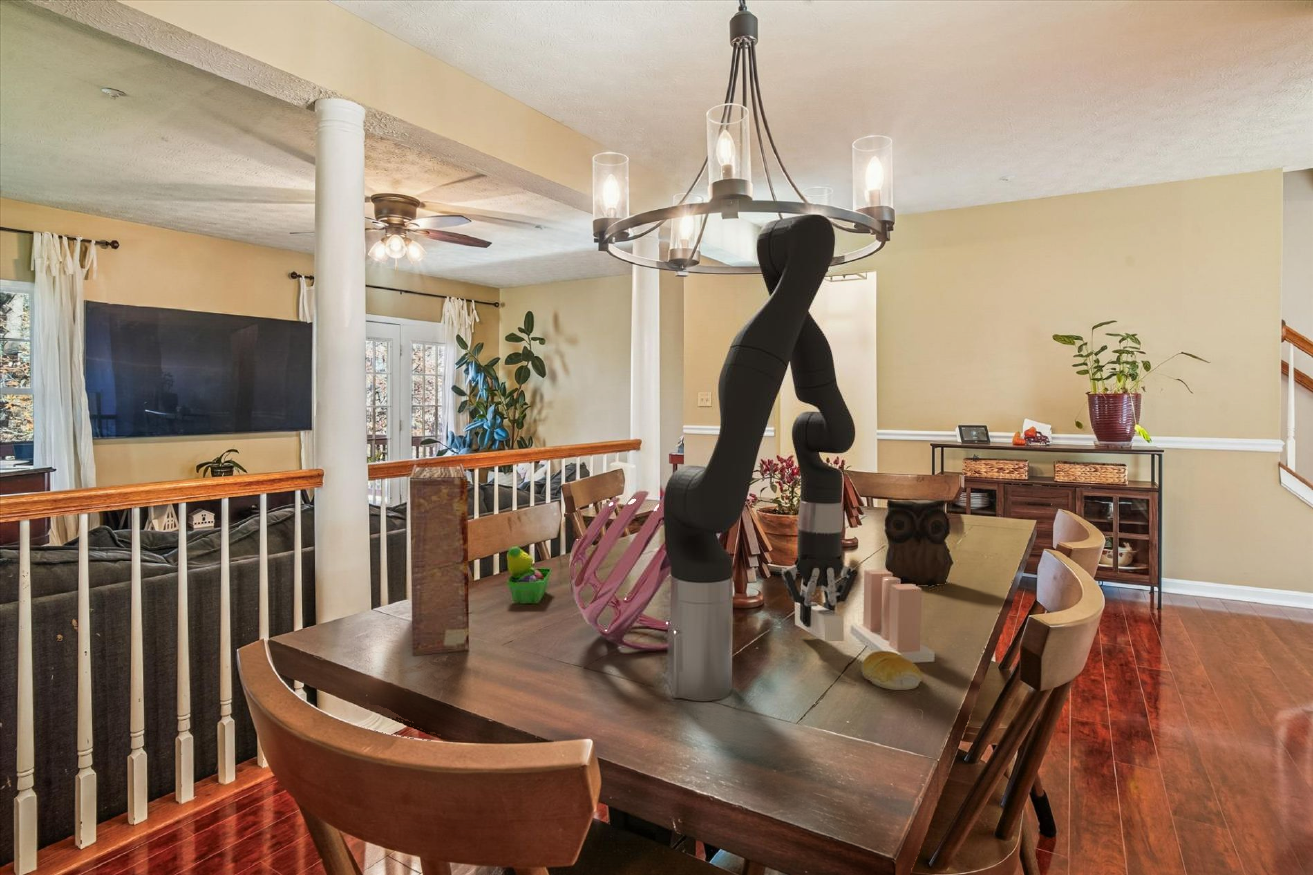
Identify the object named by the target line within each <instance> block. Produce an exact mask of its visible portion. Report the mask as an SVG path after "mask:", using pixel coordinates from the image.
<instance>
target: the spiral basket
mask: <svg viewBox="0 0 1313 875" xmlns="http://www.w3.org/2000/svg"><path fill="white" fill-rule="evenodd" d="M649 494H650V492H649V491H647V490H639V491H636V492H634V493H633V494H632V496H631V497H630V498H629V499H628V501H627V502H626V503H625V505H624V506H623V507H622V509H621V510H620V511H619V512H618V514H617V516H616V517H615V518H614V520H613V521H612V523H610V525H609V527H608V528H607V530H606V531H605V532H604V534H603V535H602V536H601V538H600V540H599V541H598V543H596V545H595V547H594V548H593V549H592V551H591V553H590V554H589V556H588V557H587V551H588V549H589V547H590V546H591V544H593V542H594V541H595V539H596V538H597V536H598V535H599V534H600V532H601V530H602V529H603V528H604V526H605V525H606V524H607V522H608V520H609V519H610V517H611V516H612V515H613V513H614V511H615V509H616V508H617V507H618V505H619V504H620V501H621V497H614V498H612V499H610V500H609V501H607V503H605V504H604V506H603V507H602V508H601V510H600V511H599V512H598V513H597V515H596V517H594V518H593V520H592V522H591V523H590V524H589V526H588V527H587V528H586V530H585V532H584V533H583V534H580V535H579V538H576V539H575V541H574V542H573V544H572V548H571V551H570V556H569V566H568V567H569V568H568V569H569V570H568V571H569V583H570V584H569V585H570V591H571V595H572V596H573V599H574V601H575V603H576V605H577V607H578V609H579V611H580V613H581V614H582V618H583V619H584V620H585V622H586V623H587V624H588V625H590V626H591V627H592V628H593V629H594V630H596V631H597V632H598V633H599V634H600V635H601V636H602V637H603V638H604V639H606V640H607V641H608V642H610V643H613V644H616V645H618V646H621V647H624V648H628V649H631V650H635V651H640V652H641V651H642V652H656V651H657V652H658V651H665V650H668V642H667V643H662V644H639V643H635V642H631V641H628V640H626V639H624V638H625V636H626V635H627V634H628V632H630V630H631V629H632V627H633V626H634V625H635V623H636V624H638V625H641V626H645V627H647V628H652V629H657V630H664V631H668V621H665V620H662V619H657V618H654V617H652V616H649V615H646V614H645V613H643V612H644V611H645V610H646V608H647V607H648V606H649V605H650V602H652V600H653V599H654V597H655V596H656V594H657V593H658V591H659V590H660V589H661V587H662V585H663V584H664V583H665V581H666V579H667V578H668V577H669V575H671V567H670V562H669V559H668V557H667V554H666V549H665V540H664V541H663V543H662V544H661V546H660V547H659V548H658V550H657V551H656V552H655V554H654V556H653V557H652V559H651V560H650V562H649V563H648V565H646V567H645V569H644V570H643V572H642V573H641V574H640V576H639V578H638V579H637V581H636V582H635V583H634V585H633V587H632V588H631V589H630V591H629V592H628V594H627V596H626V597H624V598H623V599H621V598H619V597H617V595H616V593H617V592H618V590H619V589H620V587H621V586H622V584H623V583H624V582H625V580H626V578H627V577H628V576H629V574H630V573H631V571H632V570H633V568H634V567H635V566H636V565H637V563H638V561H639V560H640V558H641V557H642V555H643V554H644V552H645V550H646V549H647V548H648V546H649V545H650V544H651V542H652V540H653V539H654V537H655V536H656V534H657V533H658V531H659V530H660V528H661V527H662V525H664V495H663V496H662V497H661V499H660V500H659V502H658V503H657V504H656V506H655V508H653V510H652V512H651V513H650V514H649V516H648V518H647V519H646V520H645V522H644V523H643V525H642V526H641V528H640V529H639V531H638V532H637V534H636V535H635V536H634V538H633V539H632V540H631V542H630V543H629V545H628V547H627V548H626V549H625V551H624V553H623V554H622V555H621V556H620V558H619V560H618V561H617V562H616V564H615V566H614V567H613V569H612V570H611V572H609V574H608V576H607V577H606V579H604V580H602V581H601V580H600V578H599V577H598V574H597V572H598V569H599V568H600V566H602V564H603V562H604V561H605V559H606V558H607V556H608V555H609V554H610V552H612V549H613V548H614V546H615V545H616V544H617V542H618V540H619V539H620V538H621V537H622V535H623V533H624V532H625V531H626V529H627V528H628V526H629V525H630V524H631V522H632V520H633V518H634V517H636V516H635V515H636V514H637V513H638V511H639V510H640V509H641V507H642V505H643V504H644V502H645V501H646V499H647V497H648V496H649ZM578 562H579V563H580V569H579V571H578V572H577V574H576V565H577V563H578ZM587 585H590V587H591V588H592V591H593V592H594V594H593V597H592V599H591V600H590V601H589V603H588V605H587V606H586V604H585V603H584V601H583V599H582V596H581V593H582V592H583V590H584V589H585V587H586V586H587ZM606 607H609V608H610V609H612V610H613V612H614V616H613V618H612V620H611V622H610V623H609V625H608V626H607V628H605V627H604V626H603V625H601V624H600V623H599V621H598V618H599V617H600V615H601V614H602V613H603V612H604V610H605V608H606Z"/></svg>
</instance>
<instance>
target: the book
mask: <svg viewBox="0 0 1313 875" xmlns="http://www.w3.org/2000/svg"><path fill="white" fill-rule="evenodd" d="M413 465H414V466H413V467H412V471H411V473H410V477H409V509H410V510H409V511H410V512H409V513H410V514H409V515H410V517H409V520H410V524H409V525H410V526H409V527H410V572H411V573H410V574H411V581H410V583H411V629H412V630H411V631H412V632H411V636H412V639H411V641H412V643H411V644H412V656H423V655H430V654H431V655H432V654H441V653H453V652H461V651H469V650H470V628H469V627H470V626H469V623H470V618H469V617H470V616H469V614H470V613H469V606H470V605H469V600H470V599H469V527H468V526H469V519H468V518H469V517H468V516H469V508H468V507H469V506H468V505H469V504H468V503H469V501H468V498H469V497H468V495H469V492H468V489H469V488H468V484H469V483H468V478H467V474H466V471H465V468H464V466H463V463H459V466H435V467H433V466H432V467H431V466H430V467H418V465H417V464H413Z"/></svg>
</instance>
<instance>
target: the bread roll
mask: <svg viewBox="0 0 1313 875" xmlns="http://www.w3.org/2000/svg"><path fill="white" fill-rule="evenodd" d="M861 675H862V676H863V678H864V679H866V680H868V681H870V682H871V684H873V685H875V686H877V687H880V688H883V689H887V690H894V691H901V690H902V691H903V690H912V689H915V688H917V687H919V685H920V682H921V681H922V678H923V676H922V672H921V670H920V668H919V667H918V666H917V665H916V663H912V662H911V661H909V660H907V659H905V658H903V657H902V656H900V655H899V654H897V653H894V652H889V651H878V652H872V653H870V654H868V655H867V656H866V657H865V658H864V660H863V661H862V664H861Z"/></svg>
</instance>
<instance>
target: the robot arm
mask: <svg viewBox="0 0 1313 875" xmlns="http://www.w3.org/2000/svg"><path fill="white" fill-rule="evenodd" d="M835 246H836V234H835V229H834V226H833V224H832V222H831V220H829V219H828V218H827V217H826V216H824V215H823V214H822V215H821V214H818V213H817V214H816V213H815V214H814V213H813V214H803V215H797V216H791V217H786V218H781V219H776V220H771V221H769V222H767V223H766V224H765V225H763V226H762V227H761V229H760V231H759V232H758V236H757V238H756V256H757V262H758V266H759V268H760V271H761V272H760V273H761V274H762V278H763V281H764V283H765V287H766V289H767V292H768V295H769V297H768V298H767V299H766V301H765V302H764V303H763V304H762V305H761V306H760V308H758V309H757V311H756V312H755V313H754V314H753V315H752V316H751V317H750V318H749V319H748V320H747V321H746V322H745V324H743V326H742V327H741V328H740V330H739V331H738V332H737V333H736V334H735V337H734V338H733V340H732V342H731V344H730V347H729V349H728V351H727V355H726V357H725V359H724V362H723V365H722V368H721V370H720V373H719V378H718V383H717V384H718V385H717V393H718V407H719V415H720V416H719V417H720V422H719V423H720V427H719V433H718V437H717V440H716V443H715V446H714V448H713V451H712V455H711V456H710V458H709V461H708V463H707V466H702V465H701V466H700V465H684V466H682V467H680V468H678V469H677V470H675V471H674V472H673V473H672V474H671V476H670V477H669V478H668V481H667V483H666V486H665V488H664V489H665V490H664V494H663V496H664V522H663V529H664V541H665V549H666V554H667V557H668V559H669V562H670V567H671V572H670V601H669V602H670V607H669V608H670V610H669V612H670V615H669V616H670V617H669V618H670V619H669V620H668V621H667V622H668V630H667V643H668V649H667V684H668V687H669V689H670V692H671V694H672V697H673V698H674V699H684V700H689V701H695V702H696V701H697V702H708V701H709V702H710V701H717V700H721V699H723V698H726V697H727V696H728V695H730V694H731V692H732V689H733V688H732V687H733V686H732V684H733V602H734V601H733V596H734V595H733V593H734V592H733V591H734V586H733V584H734V579H733V578H734V561H733V557H732V556H731V554H730V553H729V552H728V551H727V550H726V549H725V547H723V545H722V543H721V541H720V540H719V538H718V535H719V534H725V533H726V532H728V531H730V530H731V529H732V528H733V527H734V526H735V525H736V524H737V522H738V521H739V520H740V518H741V516H742V514H743V512H744V508H745V505H746V503H747V499H748V495H749V492H750V487H751V484H752V478H753V475H754V472H755V466H756V462H757V458H758V455H759V450H760V448H761V445H762V441H763V438H764V435H765V432H766V428H767V425H768V423H769V420H770V417H771V413H772V410H773V407H774V405H775V403H776V399H777V397H778V395H779V392H780V390H781V388H782V384H783V381H784V379H785V375H786V373H787V370H788V368H789V365H790V372H791V378H792V382H793V388H794V394H795V396H796V399H797V400H798V401H799V402H801V403H803V404H807V405H811V406H813V407H815V408H816V409H818V411H804V412H801V413H800V414H798V415H797V417H796V418H795V420H794V421H793V423H792V424H793V425H792V428H791V440H792V445H793V449H794V451H795V456H796V462H797V465H798V470H799V475H800V500H799V508H798V516H797V517H798V518H797V521H796V522H797V545H796V546H797V547H796V551H797V554H796V556H797V557H796V559H795V560H794V563H793V565H791V566H789V567H781V568H780V570H779V572H780V575H781V578H782V580H783V583H784V587H785V588H786V591H787V593H788V596H789V598H790V599H791V600H792V601H793V602H794V603H795V602H796V603H800V621H801V622H802V623H803V625H804V626H806V627H810V625H811V608H812V607H811V606H810V604H811V602H812V600H813V595H814V594H815V593H816V592H815V591H816V587H819V586H821V588H822V590H823V597H824V602H823V603H822V607H824V608H826V609H828V610H833V611H835V612H836V606H837V604H838V603H844V602H846V601H847V598H848V596H849V594H850V592H851V589H852V587H853V585H854V582H855V580H856V578H857V576H858V571H857V570H856V569H855V568H853V567H851V566H846V565H844V561H843V560H842V555H843V554H842V553H843V551H842V550H843V524H844V523H843V522H844V514H843V513H844V512H843V473H842V471H841V470H840V469H839V468H837V467H835V466H834V467H833V466H830V465H828V464H826V463H824V462H823V459H822V458H821V454H820V453H822V454H823V453H825V454H839V455H840V454H844V453H846V452H848V451H849V450H851V448H852V446H853V444H854V443H855V439H856V427H855V426H856V425H855V421H854V419H853V417H852V414H851V411H850V410H849V408H848V406H847V404H846V402H845V399H844V397H843V395H842V392H841V390H840V388H839V386H838V382H837V376H836V369H835V362H834V355H833V351H832V349H831V345H830V343H829V341H828V339H827V336H826V335H825V334H824V332H823V331H822V329H821V328H820V326H819V324H818V323H817V322H816V320H815V319H814V318H813V316H812V314H811V313H810V311H809V310H810V309H811V306H812V304H813V301H814V300H815V297H816V295H817V293H818V291H819V289H820V288H821V285H822V283H823V281H824V280H825V279H824V278H825V276H826V275H827V273H828V270H829V268H830V266H831V263H832V260H833V256H834V253H835ZM796 573H798V575H799V576H800V577H801V583H800V592H799V589H798V587H797V585H796V582H795V580H796V578H797V574H796ZM839 575H840V577H841V578H840V579H839V582H838V585H837V587H836V582H835V580H836V579H837V577H838V576H839Z"/></svg>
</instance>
